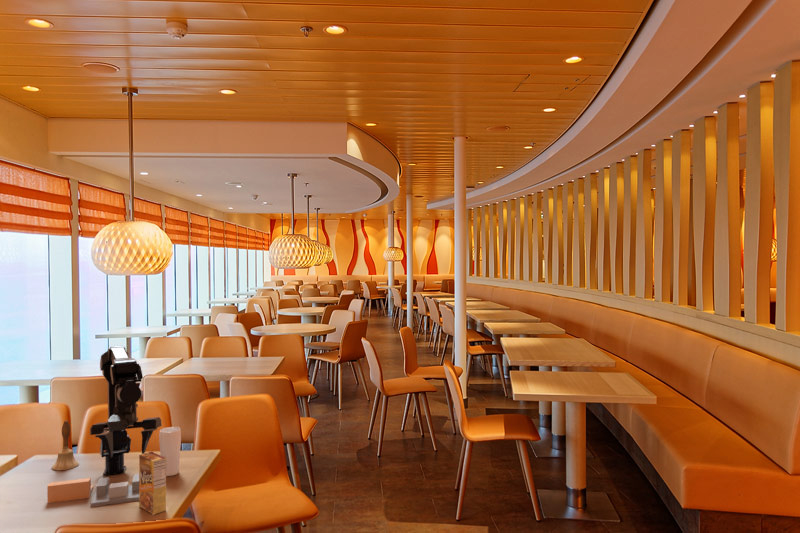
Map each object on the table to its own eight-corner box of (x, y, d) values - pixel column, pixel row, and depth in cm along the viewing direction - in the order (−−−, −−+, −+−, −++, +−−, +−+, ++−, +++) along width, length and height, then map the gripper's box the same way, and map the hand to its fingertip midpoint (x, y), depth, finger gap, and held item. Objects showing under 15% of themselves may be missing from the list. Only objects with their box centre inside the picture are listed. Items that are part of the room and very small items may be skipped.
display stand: (97, 491, 178) (96, 478, 178) (146, 485, 183) (145, 472, 183) (90, 506, 167) (90, 493, 167) (142, 499, 171) (142, 486, 171)
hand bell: (72, 460, 206) (71, 416, 206) (83, 465, 201) (83, 420, 201) (47, 467, 200) (47, 422, 199) (58, 472, 195) (57, 425, 195)
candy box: (138, 506, 166) (137, 454, 166) (152, 502, 170) (152, 450, 170) (153, 515, 161) (152, 461, 161) (167, 510, 164) (167, 457, 164)
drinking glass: (173, 478, 189) (173, 433, 189) (155, 476, 190) (154, 431, 190) (185, 470, 195) (184, 427, 195) (167, 469, 197) (167, 426, 197)
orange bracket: (53, 492, 177) (53, 476, 177) (93, 488, 181) (93, 472, 181) (47, 503, 169) (47, 486, 169) (89, 497, 173) (89, 481, 173)
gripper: (81, 408, 163) (82, 464, 161) (148, 402, 165) (150, 457, 163) (97, 403, 174) (98, 456, 172) (161, 398, 176) (162, 450, 174)
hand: (127, 455), depth 170 cm, fingers open, 9 cm apart
